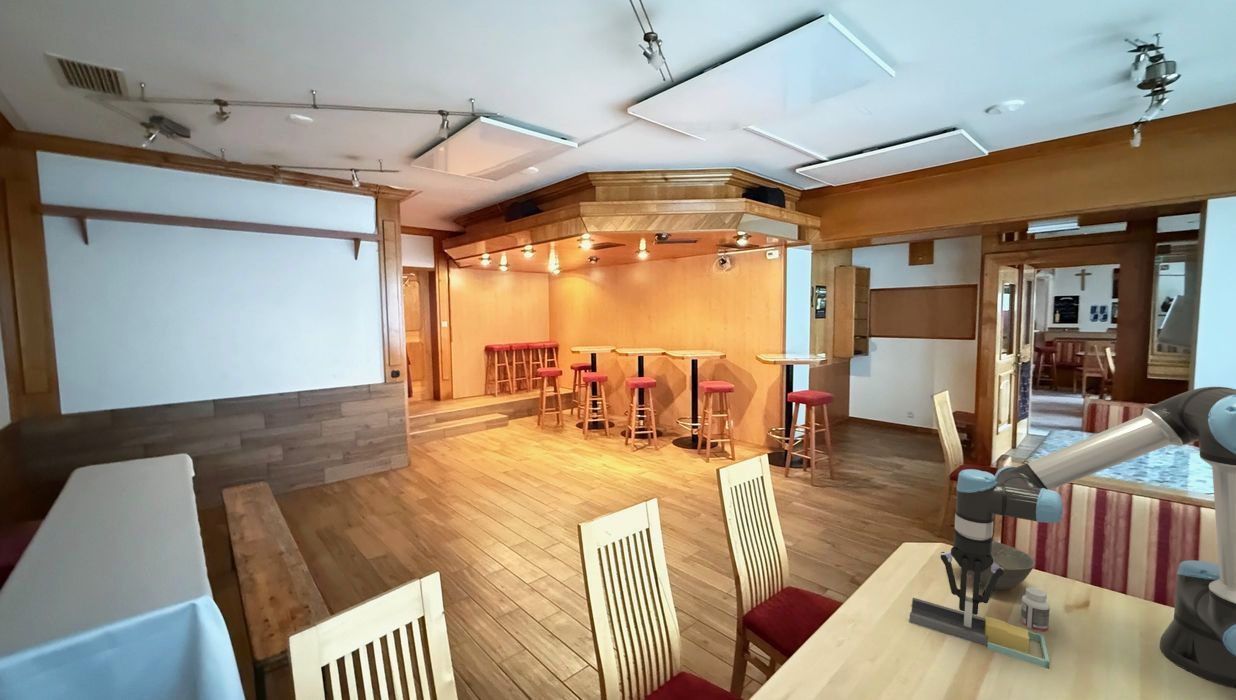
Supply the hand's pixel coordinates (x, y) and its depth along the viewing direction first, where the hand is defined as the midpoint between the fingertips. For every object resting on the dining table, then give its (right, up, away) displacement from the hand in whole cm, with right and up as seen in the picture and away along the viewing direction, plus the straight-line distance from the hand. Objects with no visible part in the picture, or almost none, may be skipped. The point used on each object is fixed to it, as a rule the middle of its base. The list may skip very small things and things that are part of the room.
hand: (967, 623), depth 121 cm
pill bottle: (+19, -3, +2) cm, 19 cm away
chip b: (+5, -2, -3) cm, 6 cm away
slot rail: (-3, -3, +3) cm, 5 cm away
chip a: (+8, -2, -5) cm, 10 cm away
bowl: (+23, -1, +21) cm, 31 cm away
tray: (+8, -3, -5) cm, 10 cm away
